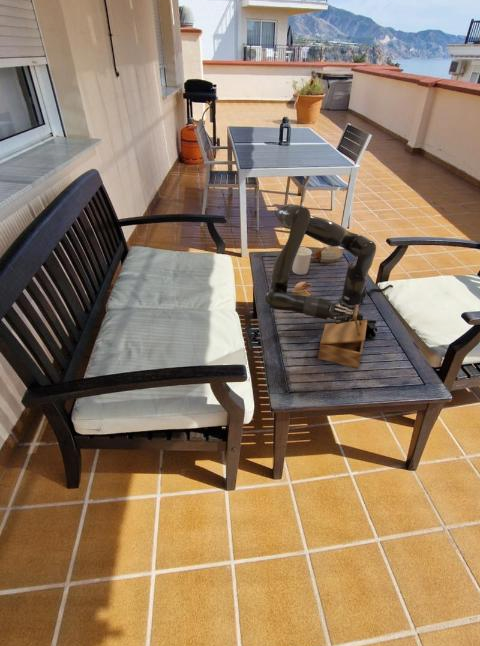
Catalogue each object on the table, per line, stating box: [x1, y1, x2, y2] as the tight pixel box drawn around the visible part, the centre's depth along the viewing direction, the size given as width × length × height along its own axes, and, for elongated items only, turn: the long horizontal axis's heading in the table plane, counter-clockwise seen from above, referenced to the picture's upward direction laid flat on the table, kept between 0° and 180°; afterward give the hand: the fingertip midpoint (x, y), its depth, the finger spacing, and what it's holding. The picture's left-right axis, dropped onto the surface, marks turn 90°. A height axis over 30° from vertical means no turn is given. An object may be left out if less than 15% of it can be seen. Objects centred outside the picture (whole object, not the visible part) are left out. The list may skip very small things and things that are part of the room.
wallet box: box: [317, 341, 365, 369], centre depth 154 cm, size 16×13×7 cm
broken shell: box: [290, 281, 313, 296], centre depth 187 cm, size 9×10×10 cm
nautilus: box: [310, 245, 344, 264], centre depth 219 cm, size 8×22×15 cm
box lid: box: [319, 304, 367, 344], centre depth 148 cm, size 16×13×10 cm
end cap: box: [349, 318, 378, 340], centre depth 165 cm, size 10×7×7 cm
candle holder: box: [291, 246, 313, 276], centre depth 206 cm, size 10×10×12 cm
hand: (363, 317), depth 144 cm, fingers closed
